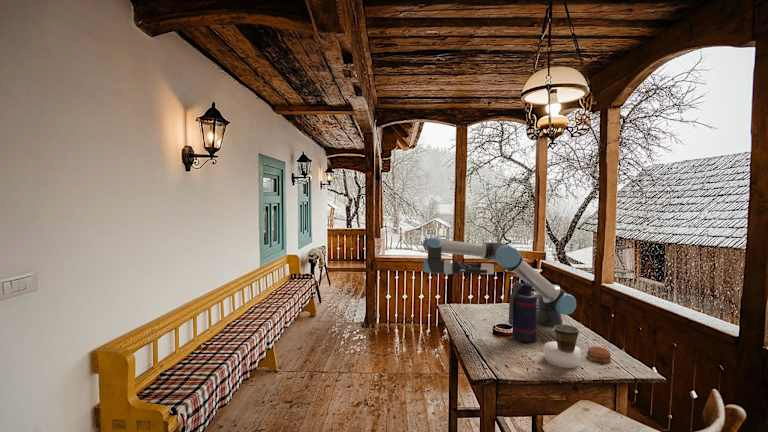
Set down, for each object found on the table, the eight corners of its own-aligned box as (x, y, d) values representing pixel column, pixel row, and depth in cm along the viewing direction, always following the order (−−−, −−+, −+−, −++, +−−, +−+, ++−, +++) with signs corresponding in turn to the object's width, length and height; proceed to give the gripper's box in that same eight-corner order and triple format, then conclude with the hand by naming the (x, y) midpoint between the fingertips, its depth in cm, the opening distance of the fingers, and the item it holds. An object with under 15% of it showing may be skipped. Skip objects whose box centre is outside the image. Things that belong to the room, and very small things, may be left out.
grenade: (530, 335, 202) (530, 280, 201) (540, 343, 190) (541, 285, 189) (505, 335, 201) (505, 281, 200) (514, 344, 190) (514, 286, 188)
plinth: (562, 351, 180) (562, 339, 180) (588, 364, 166) (588, 351, 165) (537, 356, 175) (537, 343, 175) (562, 370, 161) (562, 356, 161)
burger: (615, 363, 167) (615, 353, 167) (594, 363, 168) (594, 353, 167) (603, 354, 177) (603, 344, 177) (583, 354, 177) (583, 344, 177)
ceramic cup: (569, 345, 173) (570, 324, 173) (583, 354, 163) (583, 331, 163) (543, 346, 172) (543, 325, 171) (555, 355, 162) (556, 333, 161)
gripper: (454, 269, 211) (493, 271, 205) (450, 279, 187) (493, 281, 181) (454, 256, 211) (493, 258, 205) (450, 264, 187) (493, 266, 181)
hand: (493, 269), depth 193 cm, fingers open, 13 cm apart
